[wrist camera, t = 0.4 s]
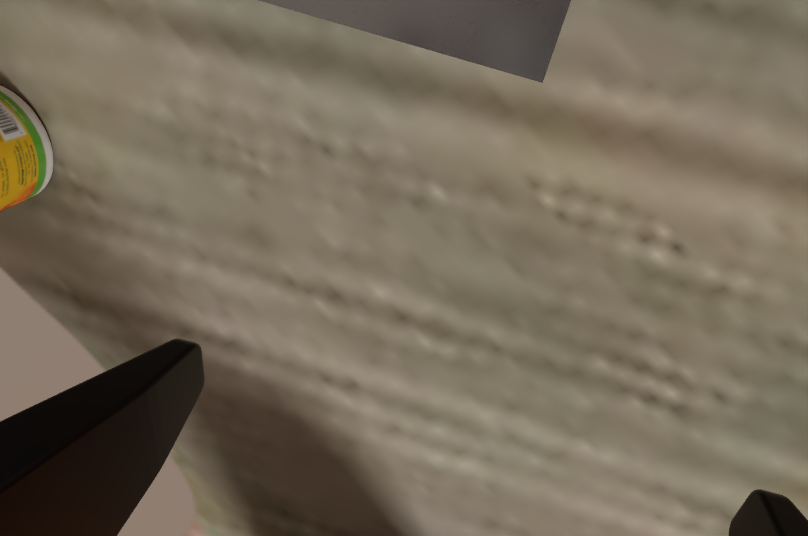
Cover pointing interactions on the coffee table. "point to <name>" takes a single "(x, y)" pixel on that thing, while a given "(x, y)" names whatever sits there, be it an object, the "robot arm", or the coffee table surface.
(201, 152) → the coffee table surface
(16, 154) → the supplement bottle
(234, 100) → the coffee table surface
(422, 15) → the price rail
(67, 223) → the coffee table surface
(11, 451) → the robot arm
